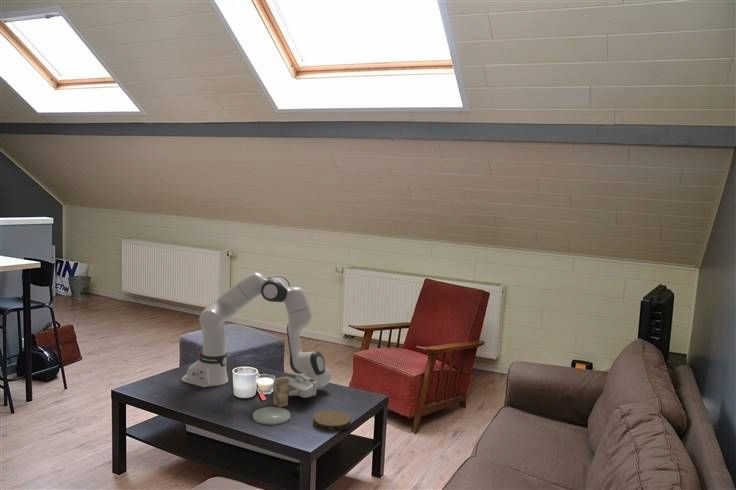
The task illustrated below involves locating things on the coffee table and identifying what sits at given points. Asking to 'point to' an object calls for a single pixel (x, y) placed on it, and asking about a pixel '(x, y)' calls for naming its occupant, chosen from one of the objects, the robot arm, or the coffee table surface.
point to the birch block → (280, 392)
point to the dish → (271, 415)
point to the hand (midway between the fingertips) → (281, 390)
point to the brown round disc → (331, 420)
